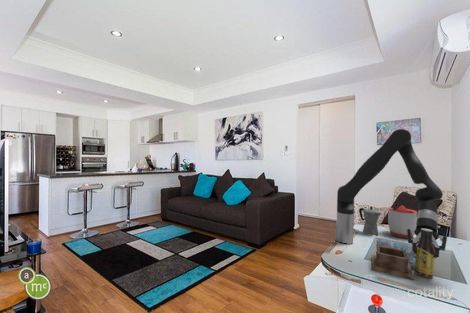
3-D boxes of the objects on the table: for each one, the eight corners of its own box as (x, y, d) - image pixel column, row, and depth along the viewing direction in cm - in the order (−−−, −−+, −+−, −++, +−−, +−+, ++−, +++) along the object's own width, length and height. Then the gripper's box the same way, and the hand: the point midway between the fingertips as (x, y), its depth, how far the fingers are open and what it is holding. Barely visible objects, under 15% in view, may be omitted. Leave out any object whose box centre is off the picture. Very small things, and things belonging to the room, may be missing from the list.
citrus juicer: (404, 231, 160) (405, 202, 160) (422, 240, 143) (423, 208, 143) (381, 230, 162) (382, 201, 162) (396, 238, 144) (396, 207, 144)
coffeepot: (384, 235, 150) (385, 208, 150) (375, 237, 146) (376, 209, 146) (363, 228, 164) (363, 203, 164) (354, 230, 160) (354, 204, 160)
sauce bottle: (411, 271, 102) (412, 226, 102) (424, 271, 103) (425, 226, 103) (424, 279, 96) (425, 231, 96) (438, 279, 96) (439, 231, 96)
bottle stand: (371, 269, 103) (372, 253, 103) (372, 257, 116) (372, 242, 116) (413, 280, 95) (414, 262, 95) (409, 265, 108) (409, 249, 108)
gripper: (407, 214, 109) (403, 245, 101) (448, 220, 100) (448, 255, 91) (408, 223, 113) (404, 254, 105) (447, 229, 104) (447, 264, 95)
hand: (425, 254), depth 98 cm, fingers closed on sauce bottle, 6 cm apart
